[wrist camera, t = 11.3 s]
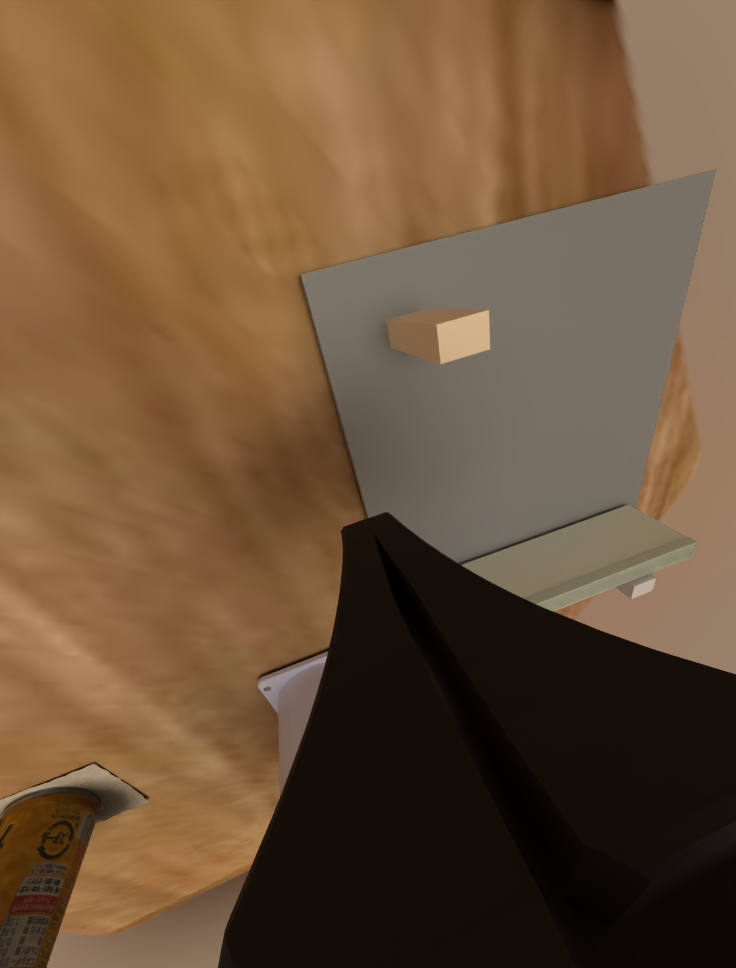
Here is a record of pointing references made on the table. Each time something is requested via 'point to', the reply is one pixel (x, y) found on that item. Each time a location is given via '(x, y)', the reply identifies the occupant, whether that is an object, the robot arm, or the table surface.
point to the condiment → (49, 856)
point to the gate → (585, 558)
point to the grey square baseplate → (511, 366)
